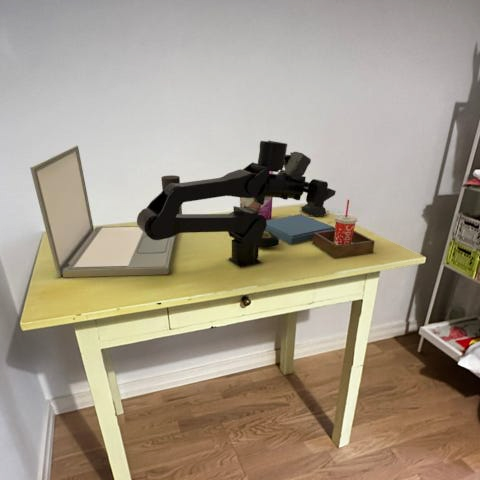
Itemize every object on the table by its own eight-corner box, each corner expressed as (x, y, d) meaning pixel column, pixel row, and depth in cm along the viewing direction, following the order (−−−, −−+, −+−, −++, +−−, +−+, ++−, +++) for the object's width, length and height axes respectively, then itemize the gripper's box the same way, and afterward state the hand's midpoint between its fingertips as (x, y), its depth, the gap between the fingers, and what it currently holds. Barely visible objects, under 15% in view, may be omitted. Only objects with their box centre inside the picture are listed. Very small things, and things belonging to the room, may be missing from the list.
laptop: (168, 274, 101) (157, 166, 88) (56, 277, 100) (28, 167, 86) (177, 230, 131) (170, 144, 118) (91, 232, 130) (74, 145, 116)
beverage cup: (333, 251, 115) (340, 202, 108) (329, 244, 120) (334, 197, 113) (354, 251, 115) (362, 202, 108) (349, 244, 121) (356, 197, 113)
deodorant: (181, 224, 137) (178, 179, 129) (164, 224, 137) (159, 179, 129) (183, 219, 142) (180, 175, 134) (167, 219, 142) (163, 175, 134)
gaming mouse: (308, 206, 157) (309, 196, 155) (329, 216, 146) (330, 205, 144) (294, 208, 155) (294, 197, 153) (314, 218, 144) (315, 207, 141)
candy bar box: (240, 221, 140) (240, 172, 132) (239, 217, 144) (239, 169, 136) (272, 221, 140) (274, 172, 132) (270, 217, 145) (272, 169, 136)
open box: (334, 258, 111) (336, 246, 109) (312, 243, 121) (313, 232, 119) (372, 252, 115) (375, 241, 113) (348, 238, 125) (349, 227, 123)
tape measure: (279, 249, 117) (280, 236, 115) (257, 251, 115) (257, 239, 113) (270, 241, 123) (271, 229, 121) (249, 243, 121) (249, 231, 119)
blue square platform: (291, 244, 120) (291, 236, 119) (257, 228, 133) (258, 221, 132) (335, 234, 128) (336, 226, 127) (300, 220, 142) (300, 213, 140)
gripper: (306, 157, 93) (355, 163, 100) (264, 147, 107) (309, 153, 114) (297, 206, 97) (344, 208, 105) (257, 190, 112) (301, 193, 119)
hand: (323, 189), depth 111 cm, fingers open, 9 cm apart
